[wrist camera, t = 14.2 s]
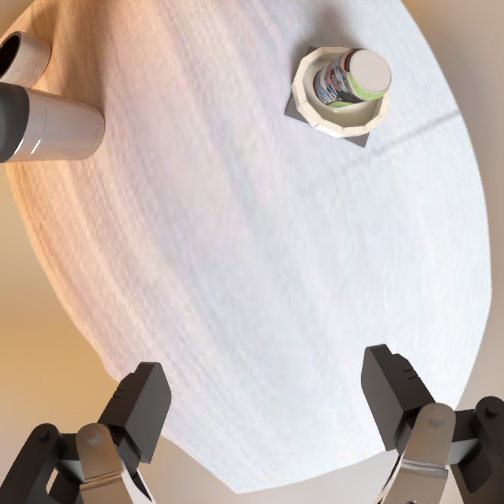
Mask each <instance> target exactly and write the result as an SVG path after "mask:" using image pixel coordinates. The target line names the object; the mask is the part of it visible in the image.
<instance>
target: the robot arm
mask: <svg viewBox="0 0 504 504" xmlns="http://www.w3.org/2000/svg"><path fill="white" fill-rule="evenodd" d="M104 127H105V124H104V118H103V115H102V113H101V112H100V111H99V110H98V109H97V108H96V107H93V106H91V105H88V104H85V103H82V102H79V101H75V100H72V99H69V98H65V97H62V96H58V95H55V94H51V93H48V92H44V91H40V90H36V89H32V88H28V87H24V86H20V85H15V84H9V83H4V82H0V163H9V162H23V161H48V160H83V159H86V158H88V157H89V156H91V155H92V154H93V153H94V152H95V151H96V150H97V148H98V147H99V145H100V143H101V141H102V138H103V135H104ZM361 386H362V390H363V393H364V395H365V397H366V400H367V402H368V405H369V407H370V410H371V412H372V415H373V417H374V420H375V422H376V425H377V427H378V430H379V433H380V435H381V438H382V440H383V443H384V446H385V448H386V451H390V450H393V449H397V451H398V454H399V455H398V457H397V459H396V461H395V463H394V466H393V467H392V470H391V472H390V474H389V476H388V478H387V480H386V482H385V484H384V486H383V488H382V490H381V492H380V494H379V495H378V497H377V499H376V500H375V502H374V504H439V502H440V499H441V496H442V493H443V490H444V487H445V484H446V481H447V477H448V470H446V469H445V466H446V465H450V467H451V470H452V472H453V475H454V478H455V480H456V483H457V485H458V488H459V491H460V494H461V496H462V499H463V502H464V504H504V402H503V401H502V400H501V399H499V398H497V397H493V396H489V397H484V398H482V399H481V400H480V401H479V402H478V403H477V405H476V407H475V409H470V410H463V411H453V409H452V408H451V407H449V406H448V405H446V404H443V403H436V402H435V400H434V399H433V397H432V396H431V394H430V392H429V391H428V389H427V388H426V386H425V385H424V383H423V382H422V380H421V379H420V377H418V374H417V373H416V371H415V370H413V367H412V365H411V364H410V362H409V361H408V360H407V359H406V358H404V357H403V356H401V355H400V354H398V353H397V354H393V355H392V353H391V351H390V350H389V348H388V347H387V345H386V344H380V345H375V346H370V347H366V349H365V353H364V360H363V367H362V373H361ZM170 404H171V390H170V387H169V385H168V382H167V379H166V377H165V374H164V371H163V368H162V366H161V364H160V363H158V362H141V363H140V364H139V365H138V367H137V369H136V371H135V372H134V373H130V374H129V375H127V376H126V377H125V378H124V379H123V380H122V381H121V382H120V384H119V386H118V387H117V391H115V392H114V394H113V398H111V400H110V401H109V403H108V404H107V406H106V408H105V410H104V411H103V413H102V415H101V417H100V418H99V420H98V422H97V423H91V424H88V425H85V426H83V427H82V428H81V429H80V430H79V431H78V433H74V434H63V433H60V432H59V431H58V429H57V428H56V427H55V426H54V425H52V424H49V423H46V424H41V425H39V426H37V427H36V428H35V429H34V430H33V431H32V433H31V434H30V436H29V437H28V439H27V441H26V442H25V444H24V446H23V447H22V449H21V451H20V452H19V454H18V456H17V458H16V460H15V461H14V463H13V465H12V467H11V468H10V470H9V472H8V474H7V476H6V478H5V480H4V481H3V484H2V485H1V487H0V504H156V502H155V500H154V498H153V497H152V495H151V493H150V491H149V489H148V487H147V485H146V483H145V481H144V479H143V477H142V475H141V474H140V471H139V470H138V468H137V467H138V465H139V462H143V463H148V464H150V462H151V459H152V456H153V453H154V450H155V447H156V445H157V442H158V439H159V436H160V433H161V430H162V427H163V424H164V421H165V418H166V415H167V413H168V410H169V407H170ZM54 468H55V469H56V470H57V471H58V474H57V476H56V479H55V481H54V483H53V485H52V487H51V490H50V492H49V494H47V491H46V485H47V483H48V481H49V479H50V476H51V474H52V472H53V470H54Z"/></svg>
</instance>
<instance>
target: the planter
mask: <svg viewBox="0 0 504 504" xmlns="http://www.w3.org/2000/svg"><path fill="white" fill-rule="evenodd" d="M50 53H51V48H50V45H49V44H48V43H47V42H45V41H43V40H40V39H38V38H36V37H33V36H31V35H28V34H26V33H24V32H21V31H15V32H13V33H11V34H10V35H9V36H8V37H6V39H5V40H4V41H3V42H2V43H1V45H0V82H4V83H9V84H15V85H20V86H24V87H28V88H30V87H31V86H33V85H34V84H35V83H36V82H37V81H38V79H39V78H40V77H41V75H42V74H43V72H44V71H45V69H46V67H47V64H48V62H49V58H50Z"/></svg>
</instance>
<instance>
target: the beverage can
mask: <svg viewBox="0 0 504 504" xmlns="http://www.w3.org/2000/svg"><path fill="white" fill-rule="evenodd" d="M391 81H392V75H391V70H390V67H389V65H388V64H387V62H386V61H385V60H384V59H383V58H382V57H381V56H380V55H379V54H377V53H376V52H373V51H370V50H366V49H359V48H357V49H352V50H349V51H347V52H346V53H344V54H343V55H341V56H340V57H338V58H337V59H335V60H334V61H332V62H331V63H329V64H328V65H326V66H325V67H324V68H322V69H321V70H319V71H318V72H317V73H316V75H315V76H314V79H313V89H314V92H315V95H316V96H317V98H318V99H319V100H320V101H321V102H322V103H324V104H325V105H327V106H329V107H333V108H341V107H345V106H349V105H353V104H358V103H362V102H366V101H371V100H375V99H378V98H380V97H382V96H383V95H384V94H385V93H386V92H387V90H388V88H389V86H390V84H391Z"/></svg>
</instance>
